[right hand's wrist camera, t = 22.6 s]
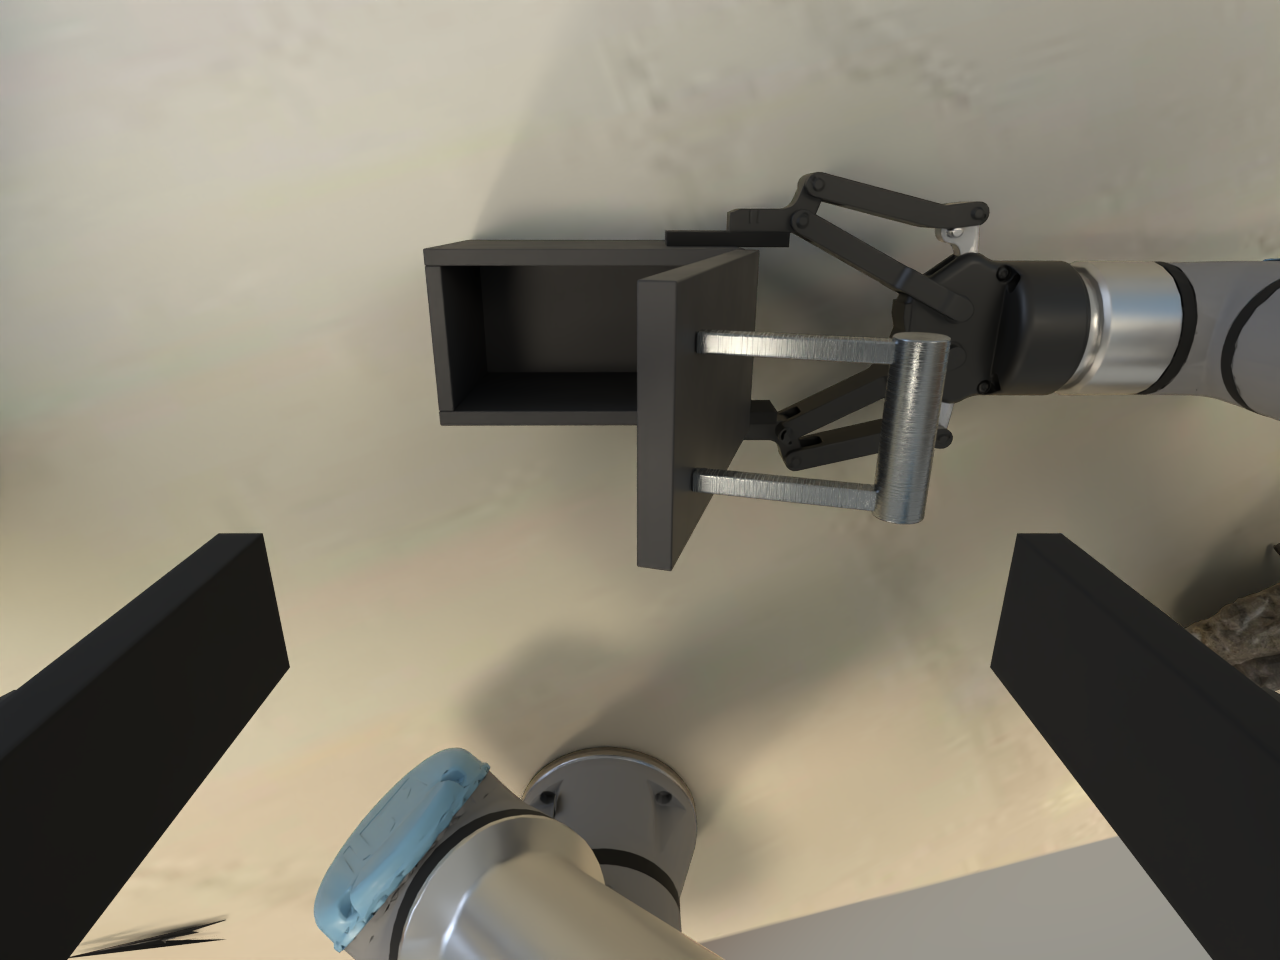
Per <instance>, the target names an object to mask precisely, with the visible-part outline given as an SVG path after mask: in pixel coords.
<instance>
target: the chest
mask: <svg viewBox="0 0 1280 960" xmlns="http://www.w3.org/2000/svg"><path fill="white" fill-rule="evenodd" d="M734 250H745V249H742V248H740V247H737V246H666V244H665V240H466V241H461V242H456V243H451V244H446V245H441V246H436V247H430V248H425V249H423V253H424V263H425V272H426V283H427V293H428V303H429V313H430V323H431V333H432V343H433V353H434V363H435V373H436V384H437V394H438V404H439V410H440V412H439V414H440V424H441V425H442V426H480V425H637V281H638V280H640V279H643V278H646V277H649V276H653V275H656V274H659V273H662V272H666V271H669V270H672V269H675V268H679V267H682V266H685V265H688V264H692V263H695V262H698V261H701V260H705V259H708V258H711V257H714V256H718V255H721V254H724V253H727V252H731V251H734Z"/></svg>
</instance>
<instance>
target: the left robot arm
mask: <svg viewBox="0 0 1280 960" xmlns="http://www.w3.org/2000/svg"><path fill="white" fill-rule="evenodd" d="M821 202H825V203H829V204H833V205H837V206H840V207H844V208H848V209H852V210H856V211H859V212H863V213H867V214H871V215H875V216H879V217H882V218H886V219H890V220H894V221H898V222H901V223H905V224H909V225H913V226H918V227H926V228H935V236H936V238H937V239H938V240H939V241H940V242H945V243H948V244H950V245H951V246H952V248H953V251H954V254H952V255H951V256H949V257H948V258H946V259H945V260H943V261H942V262H940V263H939V264H938V265H936V266H935V267H933V268H932V269H930V270H929V271H927V272H926V273H924V274H921V273H919V272H917V271H916V270H914V269H912V268H909V267H907V266H905V265H903V264H901V263H900V262H898V261H896V260H894V259H893V258H891V257H889V256H887V255H886V254H884V253H882V252H881V251H879V250H877V249H875V248H874V247H872V246H870V245H868V244H867V243H865V242H863V241H861V240H860V239H858V238H856V237H854V236H853V235H851V234H849V233H847V232H846V231H844V230H842V229H840V228H839V227H837V226H835V225H833V224H832V223H830V222H828V221H826V220H825V219H823V218H821V217H819V216H818V215H816V212H817V210H818V208H819V205H820V203H821ZM988 217H989V207H988V206H987V204H986V203H984V202H954V203H946V204H939V203H935V202H932V201H928V200H924V199H920V198H917V197H913V196H909V195H905V194H902V193H898V192H894V191H890V190H887V189H883V188H879V187H875V186H872V185H868V184H864V183H860V182H856V181H853V180H849V179H845V178H841V177H838V176H834V175H830V174H826V173H823V172H816V173H810V174H806V175H804V176H802V177H801V178H800V180H799V182H798V186H797V190H796V193H795V195H794V198H793V200H792V202H791V203H790V204H789V205H788V206H786V207H784V208H781V209H735V210H732V211H730V212H727V231H693V230H665V244H666V246H737V247H789V237H790V233H793V234H795V235H797V236H799V237H801V238H802V239H804V240H806V241H808V242H809V243H811V244H813V245H815V246H816V247H818V248H820V249H822V250H824V251H825V252H827V253H829V254H831V255H832V256H834V257H836V258H838V259H840V260H841V261H843V262H845V263H847V264H848V265H850V266H852V267H854V268H855V269H857V270H859V271H861V272H863V273H864V274H866V275H868V276H870V277H871V278H873V279H875V280H877V281H879V282H880V283H881V284H883V285H884V286H886V287H888V288H890V289H892V290H893V291H895V292H897V293H899V295H898V297H897V299H893V306H892V318H893V329H892V332H891V335H890V337H889V338H892V337H893V335H894V334H896V333H902V332H925V333H935V334H941V335H945V336H948V337H950V338H951V343H950V350H949V357H948V363H947V370H946V376H945V383H944V389H943V396H942V402H941V409H940V416H939V422H938V429H937V435H936V442H935V448H939V449H942V448H946V447H948V446H949V445H950V444H951V442H952V440H953V436H952V433H951V432H950V431H949V430H948V429H947V427H948V423H949V420H950V416H951V413H952V409H953V405H954V403H957V402H960V401H962V400H963V399H965V398H968V397H971V396H975V395H1048V394H1051V393H1053V392H1055V393H1057V394H1059V395H1142V394H1143V395H1147V394H1158V395H1195V396H1205V397H1211V398H1216V399H1219V400H1222V401H1225V402H1228V403H1231V404H1234V405H1237V406H1240V407H1243V408H1246V409H1247V410H1250V411H1252V412H1255V413H1257V414H1260V415H1263V416H1267V417H1270V418H1273V419H1276V420H1279V421H1280V258H1279V259H1265V260H1264V261H1217V262H1173V263H1165V262H1153V261H1076V262H1073V263H1070V264H1068V263H1066V262H1063V261H993V260H990V259H988V258H986V257H985V256H984V255H982V254H980V253H978V251H979V230H980V225H981V224H983V223H984V222H985V221H986V220H987V218H988ZM888 370H889V364H872V365H871V367H870V368H868V369H866V370H864V371H862V372H860V373H858V374H856V375H854V376H852V377H850V378H848V379H846V380H843V381H841V382H839V383H837V384H835V385H833V386H831V387H829V388H827V389H825V390H823V391H820V392H818V393H816V394H814V395H812V396H810V397H808V398H806V399H804V400H802V401H800V402H798V403H795V404H793V405H791V406H789V407H787V408H785V409H783V410H781V411H779V412H777V411H776V409H775V408H774V406H773V405H772V403H771V402H770V400H751V406H750V423H749V430H748V432H747V434H746V435H745V437H744V439H743V440H772V441H774V442H776V443H777V446H778V451H779V454H780V456H781V457H782V459H783V461H784V463H785V465H786V466H787V468H788V469H789V470H792V471H799V470H803V469H808V468H812V467H817V466H821V465H826V464H830V463H835V462H840V461H844V460H849V459H853V458H858V457H862V456H867V455H871V454H876V453H878V450H879V442H880V434H881V426H882V419H878V420H874V421H869V422H865V423H860V424H856V425H851V426H847V427H842V428H838V429H833V430H829V431H824V432H820V433H816V434H811V435H807V436H804V435H806V434H808V433H810V432H812V431H814V430H816V429H818V428H821V427H823V426H825V425H827V424H829V423H831V422H833V421H835V420H838V419H840V418H842V417H844V416H846V415H848V414H850V413H852V412H855V411H857V410H859V409H861V408H863V407H865V406H867V405H869V404H872V403H874V402H876V401H878V400H880V399H882V398H884V397H885V394H886V386H887V378H888ZM801 436H802V437H801ZM489 769H490V766H489V765H488V763H482V762H481V761H479V760H478V759H477V758H476V757H475V756H473V755H472V754H471V753H470V752H468V751H466V750H464V749H462V748H449V749H445V750H442V751H440V752H438V753H436V754H434V755H432V756H431V757H429V758H427V759H426V760H424V761H423V762H422V763H420V764H419V765H418V766H416V767H415V768H414V769H413V770H411V771H410V772H409V773H408V774H407V775H405V776H404V777H403V778H402V779H401V780H400V781H399V782H398V783H397V784H396V785H395V786H394V787H393V788H392V789H391V790H390V791H389V792H388V793H387V794H386V795H385V796H384V797H383V798H382V799H381V800H380V801H379V802H378V803H377V804H376V805H375V807H374V808H373V809H372V810H371V811H370V812H369V813H368V814H367V816H366V817H365V818H364V819H363V820H362V822H361V823H360V824H359V825H358V827H357V828H356V829H355V830H354V832H353V833H352V834H351V836H350V837H349V838H348V840H347V841H346V843H345V844H344V845H343V847H342V848H341V850H340V851H339V853H338V854H337V856H336V857H335V859H334V861H333V863H332V864H331V866H330V867H329V869H328V871H327V872H326V874H325V876H324V878H323V880H322V882H321V885H320V887H319V890H318V892H317V896H316V899H315V904H314V917H315V921H316V924H317V926H318V928H319V929H320V930H321V931H322V932H323V933H324V934H325V935H326V936H327V937H328V938H329V939H330V940H331V941H332V942H333V943H334V949H335V950H336V951H338V952H339V953H340V952H341V951H342V950H345V951H346V952H347V953H348V954H350V955H351V956H352V957H353V958H354V959H355V960H725V959H723V958H722V957H720V956H719V955H717V954H715V953H714V952H712V951H710V950H709V949H707V948H706V947H704V946H702V945H701V944H699V943H698V942H696V941H694V940H693V939H691V938H689V937H688V936H686V935H685V934H683V933H682V932H681V917H680V896H681V892H682V889H683V886H684V882H685V879H686V876H687V872H688V869H689V866H690V863H691V859H692V856H693V853H694V849H695V844H696V833H697V820H696V810H695V804H694V801H693V797H692V795H691V793H690V791H689V789H688V787H687V785H686V784H685V783H684V781H683V780H682V779H681V778H680V777H679V775H678V774H677V773H676V772H674V771H673V770H672V769H671V768H670V767H668V766H667V765H666V764H664V763H662V762H661V761H659V760H657V759H655V758H653V757H651V756H649V755H646V754H644V753H641V752H637V751H634V750H629V749H624V748H615V747H597V748H589V749H584V750H579V751H576V752H572V753H570V754H567V755H564V756H562V757H560V758H558V759H556V760H554V761H553V762H551V763H549V764H548V765H547V766H545V767H544V768H543V769H542V770H541V771H540V772H538V773H537V774H536V776H535V777H534V778H533V779H532V780H531V782H530V783H529V785H528V786H527V788H526V790H525V792H524V795H523V797H522V800H521V799H520V798H518V797H517V796H516V795H515V794H514V793H512V792H511V791H510V790H509V789H508V788H507V787H506V786H505V785H503V784H502V783H501V782H500V781H499V780H498V779H497V778H496V777H495V776H494V775H493V774H492V773H491V772H490V771H489Z"/></svg>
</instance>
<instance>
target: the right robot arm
mask: <svg viewBox="0 0 1280 960" xmlns="http://www.w3.org/2000/svg"><path fill="white" fill-rule="evenodd" d="M289 668H290V666H289V661H288V656H287V651H286V646H285V641H284V636H283V631H282V626H281V621H280V616H279V611H278V606H277V601H276V597H275V592H274V587H273V582H272V577H271V572H270V567H269V562H268V557H267V552H266V547H265V542H264V537H263V533H219V534H217V535H216V536H215V537H213V538H212V539H211V540H210V541H208V542H207V543H206V544H204V545H203V546H202V547H201V548H199V549H198V550H197V551H195V552H194V553H193V554H191V555H190V556H189V557H188V558H186V559H185V560H184V561H182V562H181V563H180V564H179V565H177V566H176V567H175V568H173V569H172V570H171V571H170V572H168V573H167V574H166V575H164V576H163V577H162V578H161V579H159V580H158V581H157V582H155V583H154V584H153V585H151V586H150V587H149V588H148V589H146V590H145V591H144V592H142V593H141V594H140V595H139V596H137V597H136V598H135V599H133V600H132V601H131V602H130V603H128V604H127V605H126V606H124V607H123V608H122V609H120V610H119V611H118V612H117V613H115V614H114V615H113V616H111V617H110V618H109V619H108V620H106V621H105V622H104V623H102V624H101V625H100V626H99V627H97V628H96V629H95V630H93V631H92V632H91V633H89V634H88V635H87V636H86V637H84V638H83V639H82V640H80V641H79V642H78V643H77V644H75V645H74V646H73V647H71V648H70V649H69V650H68V651H66V652H65V653H64V654H62V655H61V656H60V657H59V658H57V659H56V660H55V661H53V662H52V663H51V664H49V665H48V666H47V667H46V668H44V669H43V670H42V671H40V672H39V673H38V674H37V675H35V676H34V677H33V678H31V679H30V680H29V681H28V682H26V683H25V684H24V685H22V686H21V687H20V688H18V689H17V690H13V691H11V692H9V693H7V694H5V695H3V696H1V697H0V960H67V959H68V958H69V957H70V955H71V954H72V953H73V951H74V950H75V949H76V948H77V946H78V945H79V944H80V942H81V941H82V940H83V938H84V937H85V936H86V934H87V933H88V932H89V930H90V929H91V928H92V927H93V925H94V924H95V923H96V921H97V920H98V919H99V917H100V916H101V915H102V913H103V912H104V911H105V909H106V908H107V907H108V905H109V904H110V903H111V902H112V900H113V899H114V898H115V896H116V895H117V894H118V892H119V891H120V890H121V888H122V887H123V886H124V884H125V883H126V882H127V881H128V879H129V878H130V877H131V875H132V874H133V873H134V871H135V870H136V869H137V867H138V866H139V865H140V863H141V862H142V861H143V860H144V858H145V857H146V856H147V854H148V853H149V852H150V850H151V849H152V848H153V846H154V845H155V844H156V842H157V841H158V840H159V838H160V837H161V836H162V835H163V833H164V832H165V831H166V829H167V828H168V827H169V825H170V824H171V823H172V821H173V820H174V819H175V817H176V816H177V815H178V814H179V812H180V811H181V810H182V808H183V807H184V806H185V804H186V803H187V802H188V800H189V799H190V798H191V796H192V795H193V794H194V792H195V791H196V790H197V789H198V787H199V786H200V785H201V783H202V782H203V781H204V779H205V778H206V777H207V775H208V774H209V773H210V771H211V770H212V769H213V768H214V766H215V765H216V764H217V762H218V761H219V760H220V758H221V757H222V756H223V754H224V753H225V752H226V750H227V749H228V748H229V747H230V745H231V744H232V743H233V741H234V740H235V739H236V737H237V736H238V735H239V733H240V732H241V731H242V729H243V728H244V727H245V725H246V724H247V723H248V722H249V720H250V719H251V718H252V716H253V715H254V714H255V712H256V711H257V710H258V708H259V707H260V706H261V704H262V703H263V702H264V701H265V699H266V698H267V697H268V695H269V694H270V693H271V691H272V690H273V689H274V687H275V686H276V685H277V683H278V682H279V681H280V680H281V678H282V677H283V676H284V674H285V673H286V672H287V670H288V669H289ZM990 668H991V669H992V670H993V672H994V673H995V674H996V676H997V677H998V678H999V680H1000V681H1001V682H1002V683H1003V685H1004V686H1005V687H1006V689H1007V690H1008V691H1009V693H1010V694H1011V695H1012V697H1013V698H1014V699H1015V701H1016V702H1017V703H1018V704H1019V706H1020V707H1021V708H1022V710H1023V711H1024V712H1025V714H1026V715H1027V716H1028V718H1029V719H1030V720H1031V722H1032V723H1033V724H1034V725H1035V727H1036V728H1037V729H1038V731H1039V732H1040V733H1041V735H1042V736H1043V737H1044V739H1045V740H1046V741H1047V743H1048V744H1049V745H1050V747H1051V748H1052V749H1053V750H1054V752H1055V753H1056V754H1057V756H1058V757H1059V758H1060V760H1061V761H1062V762H1063V764H1064V765H1065V766H1066V768H1067V769H1068V770H1069V771H1070V773H1071V774H1072V775H1073V777H1074V778H1075V779H1076V781H1077V782H1078V783H1079V785H1080V786H1081V787H1082V789H1083V790H1084V791H1085V792H1086V794H1087V795H1088V796H1089V798H1090V799H1091V800H1092V802H1093V803H1094V804H1095V806H1096V807H1097V808H1098V810H1099V811H1100V812H1101V814H1102V815H1103V816H1104V817H1105V819H1106V820H1107V821H1108V823H1109V824H1110V825H1111V827H1112V828H1113V829H1114V831H1115V832H1116V833H1117V835H1118V836H1119V837H1120V838H1121V840H1122V841H1123V842H1124V844H1125V845H1126V846H1127V848H1128V849H1129V850H1130V852H1131V853H1132V854H1133V856H1134V857H1135V858H1136V859H1137V861H1138V862H1139V863H1140V865H1141V866H1142V867H1143V869H1144V870H1145V871H1146V873H1147V874H1148V875H1149V877H1150V878H1151V879H1152V881H1153V882H1154V883H1155V884H1156V886H1157V887H1158V888H1159V890H1160V891H1161V892H1162V894H1163V895H1164V896H1165V897H1166V899H1167V900H1168V902H1169V903H1170V904H1171V905H1172V907H1173V908H1174V909H1175V911H1176V912H1177V913H1178V915H1179V916H1180V917H1181V919H1182V920H1183V921H1184V923H1185V924H1186V925H1187V927H1188V928H1189V929H1190V930H1191V932H1192V933H1193V934H1194V936H1195V937H1196V938H1197V940H1198V941H1199V942H1200V944H1201V945H1202V946H1203V947H1204V949H1205V950H1206V951H1207V953H1208V954H1209V955H1210V957H1211V958H1212V959H1213V960H1280V694H1279V693H1277V692H1275V691H1273V690H1271V689H1269V688H1267V687H1259V686H1258V685H1256V684H1255V683H1254V682H1252V681H1251V680H1250V679H1249V678H1247V677H1246V676H1245V675H1243V674H1242V673H1241V672H1240V671H1238V670H1237V669H1236V668H1234V667H1233V666H1232V665H1231V664H1229V663H1228V662H1227V661H1225V660H1224V659H1223V658H1221V657H1220V656H1219V655H1218V654H1216V653H1215V652H1214V651H1212V650H1211V649H1210V648H1209V647H1207V646H1206V645H1205V644H1203V643H1202V642H1201V641H1200V640H1198V639H1197V638H1196V637H1194V636H1193V635H1192V634H1191V633H1189V632H1188V631H1187V630H1185V629H1184V628H1183V627H1181V626H1180V625H1179V624H1178V623H1176V622H1175V621H1174V620H1172V619H1171V618H1170V617H1169V616H1167V615H1166V614H1165V613H1163V612H1162V611H1161V610H1160V609H1158V608H1157V607H1156V606H1154V605H1153V604H1152V603H1150V602H1149V601H1148V600H1147V599H1145V598H1144V597H1143V596H1141V595H1140V594H1139V593H1138V592H1136V591H1135V590H1134V589H1132V588H1131V587H1130V586H1129V585H1127V584H1126V583H1125V582H1123V581H1122V580H1121V579H1119V578H1118V577H1117V576H1116V575H1114V574H1113V573H1112V572H1110V571H1109V570H1108V569H1107V568H1105V567H1104V566H1103V565H1101V564H1100V563H1099V562H1098V561H1096V560H1095V559H1094V558H1092V557H1091V556H1090V555H1088V554H1087V553H1086V552H1085V551H1083V550H1082V549H1081V548H1079V547H1078V546H1077V545H1076V544H1074V543H1073V542H1072V541H1070V540H1069V539H1068V538H1067V537H1065V536H1064V535H1063V534H1061V533H1017V537H1016V542H1015V547H1014V552H1013V557H1012V562H1011V567H1010V572H1009V577H1008V582H1007V587H1006V592H1005V597H1004V601H1003V606H1002V611H1001V616H1000V621H999V626H998V631H997V636H996V641H995V646H994V651H993V656H992V661H991V666H990Z"/></svg>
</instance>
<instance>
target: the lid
mask: <svg viewBox="0 0 1280 960" xmlns="http://www.w3.org/2000/svg"><path fill="white" fill-rule="evenodd" d="M758 265H759V250H734V251H731V252H727V253H724V254H721V255H718V256H714V257H711V258H708V259H705V260H701V261H698V262H695V263H692V264H688V265H685V266H682V267H679V268H675V269H672V270H669V271H666V272H662V273H659V274H656V275H653V276H649V277H646V278H643V279H640V280H638V281H637V566H638V567H645V568H652V569H660V570H667V571H672V569H673V567H674V565H675V563H676V561H677V560H678V558H679V556H680V554H681V552H682V551H683V549H684V547H685V545H686V543H687V541H688V540H689V538H690V536H691V534H692V532H693V530H694V529H695V527H696V525H697V523H698V521H699V519H700V518H701V516H702V514H703V512H704V510H705V509H706V507H707V505H708V503H709V501H710V499H711V498H712V496H713V494H721V495H730V496H739V497H748V498H758V499H767V500H776V501H785V502H794V503H804V504H813V505H822V506H831V507H840V508H850V509H859V510H868V511H871V512H872V514H873V515H874V516H875V517H876V518H878V519H880V520H883V521H886V522H890V523H895V524H915V523H918V522H921V521H922V520H923V518H924V514H925V507H926V501H927V494H928V488H929V481H930V475H931V468H932V462H933V455H934V448H935V442H936V435H937V429H938V422H939V416H940V409H941V402H942V396H943V389H944V383H945V376H946V370H947V363H948V357H949V350H950V343H951V338H950V337H948V336H945V335H941V334H935V333H925V332H902V333H896V334H894V335H893V337H892V338H873V337H852V336H831V335H810V334H789V333H768V332H755V318H756V300H757V283H758ZM753 357H767V358H784V359H802V360H820V361H837V362H855V363H873V364H889V370H888V378H887V386H886V394H885V402H884V410H883V418H882V426H881V434H880V442H879V450H878V458H877V466H876V475H875V483H874V485H869V484H859V483H849V482H839V481H829V480H819V479H809V478H799V477H788V476H778V475H768V474H758V473H748V472H738V471H728V470H727V468H728V467H729V465H730V463H731V461H732V459H733V457H734V456H735V454H736V452H737V450H738V448H739V446H740V445H741V443H742V441H743V439H744V437H745V435H746V434H747V432H748V430H749V423H750V406H751V388H752V370H753Z"/></svg>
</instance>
